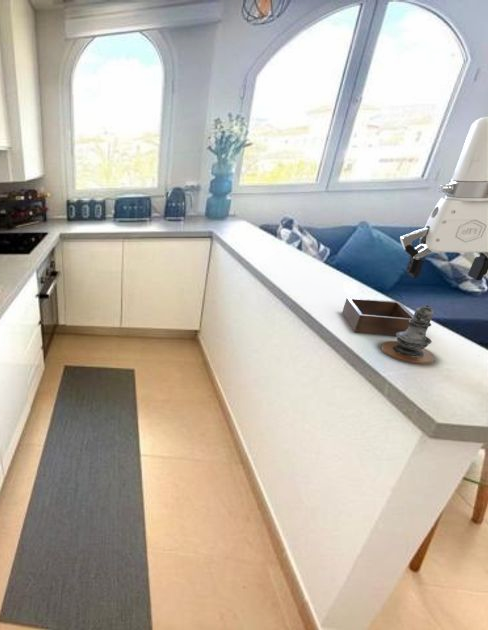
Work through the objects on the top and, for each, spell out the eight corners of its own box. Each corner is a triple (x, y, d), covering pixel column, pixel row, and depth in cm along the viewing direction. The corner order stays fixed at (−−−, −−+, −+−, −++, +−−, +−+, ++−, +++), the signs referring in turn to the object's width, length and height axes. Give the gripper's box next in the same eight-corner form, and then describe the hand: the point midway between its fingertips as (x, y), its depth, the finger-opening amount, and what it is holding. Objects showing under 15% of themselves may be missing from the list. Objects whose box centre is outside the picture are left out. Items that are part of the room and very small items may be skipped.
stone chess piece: (384, 346, 82) (402, 299, 76) (406, 343, 82) (426, 297, 77) (409, 359, 76) (430, 310, 71) (433, 356, 77) (455, 307, 71)
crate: (392, 318, 94) (399, 301, 92) (411, 338, 85) (419, 320, 83) (341, 313, 99) (346, 297, 96) (354, 332, 89) (360, 315, 87)
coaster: (422, 346, 81) (423, 344, 81) (442, 367, 74) (443, 364, 74) (375, 341, 85) (376, 339, 84) (389, 360, 77) (390, 358, 77)
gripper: (425, 195, 64) (396, 281, 71) (561, 190, 57) (513, 285, 65) (407, 190, 70) (382, 269, 77) (528, 185, 64) (488, 272, 71)
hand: (442, 277), depth 71 cm, fingers open, 9 cm apart
